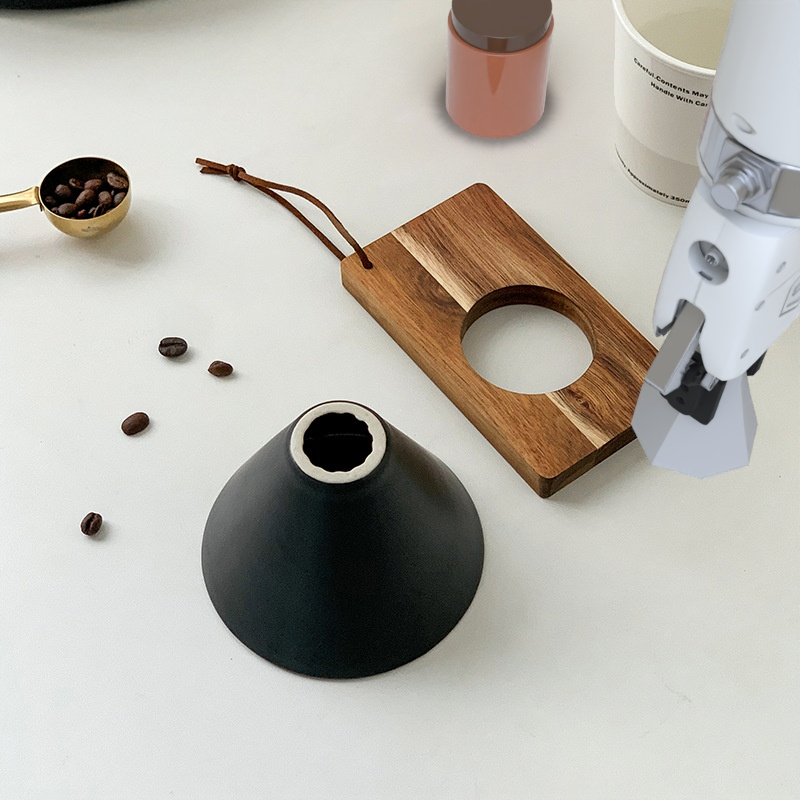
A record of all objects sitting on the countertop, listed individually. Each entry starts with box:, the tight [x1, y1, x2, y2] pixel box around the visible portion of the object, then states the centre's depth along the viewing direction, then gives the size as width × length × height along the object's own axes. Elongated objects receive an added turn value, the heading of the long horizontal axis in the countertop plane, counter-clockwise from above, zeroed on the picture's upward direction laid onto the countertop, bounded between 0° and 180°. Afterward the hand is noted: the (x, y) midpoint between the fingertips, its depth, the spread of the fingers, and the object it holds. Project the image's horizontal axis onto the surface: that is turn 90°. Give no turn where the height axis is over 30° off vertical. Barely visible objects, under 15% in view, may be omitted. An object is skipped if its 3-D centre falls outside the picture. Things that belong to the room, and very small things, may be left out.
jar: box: [445, 0, 555, 139], centre depth 104 cm, size 9×9×12 cm
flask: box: [630, 345, 759, 480], centre depth 65 cm, size 7×7×10 cm
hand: (708, 381), depth 65 cm, fingers closed on flask, 3 cm apart
